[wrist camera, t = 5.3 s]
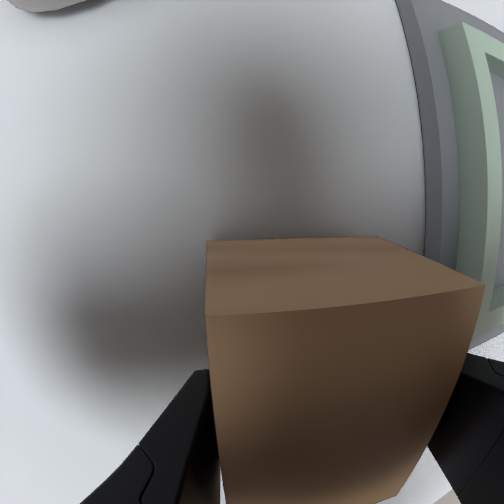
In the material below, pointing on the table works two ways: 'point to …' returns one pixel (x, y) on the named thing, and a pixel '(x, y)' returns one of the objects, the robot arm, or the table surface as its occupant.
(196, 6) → the table surface
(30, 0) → the can
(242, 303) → the brown rectangular block
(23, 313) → the table surface
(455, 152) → the grey tray
